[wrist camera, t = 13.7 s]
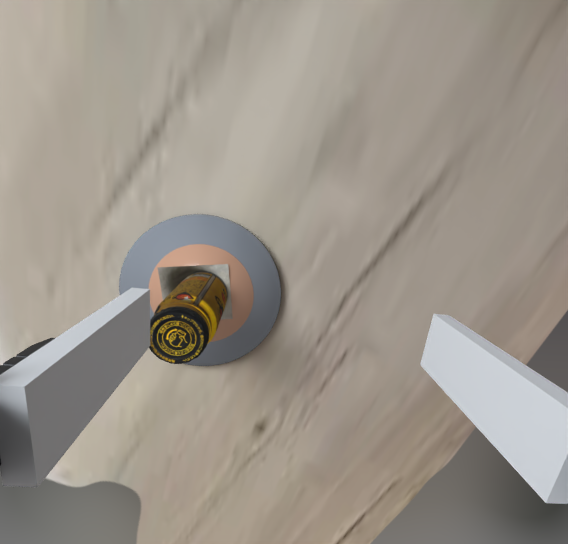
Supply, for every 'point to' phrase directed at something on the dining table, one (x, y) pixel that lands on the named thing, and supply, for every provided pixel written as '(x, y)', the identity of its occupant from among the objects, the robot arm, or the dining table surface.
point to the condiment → (189, 310)
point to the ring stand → (211, 251)
